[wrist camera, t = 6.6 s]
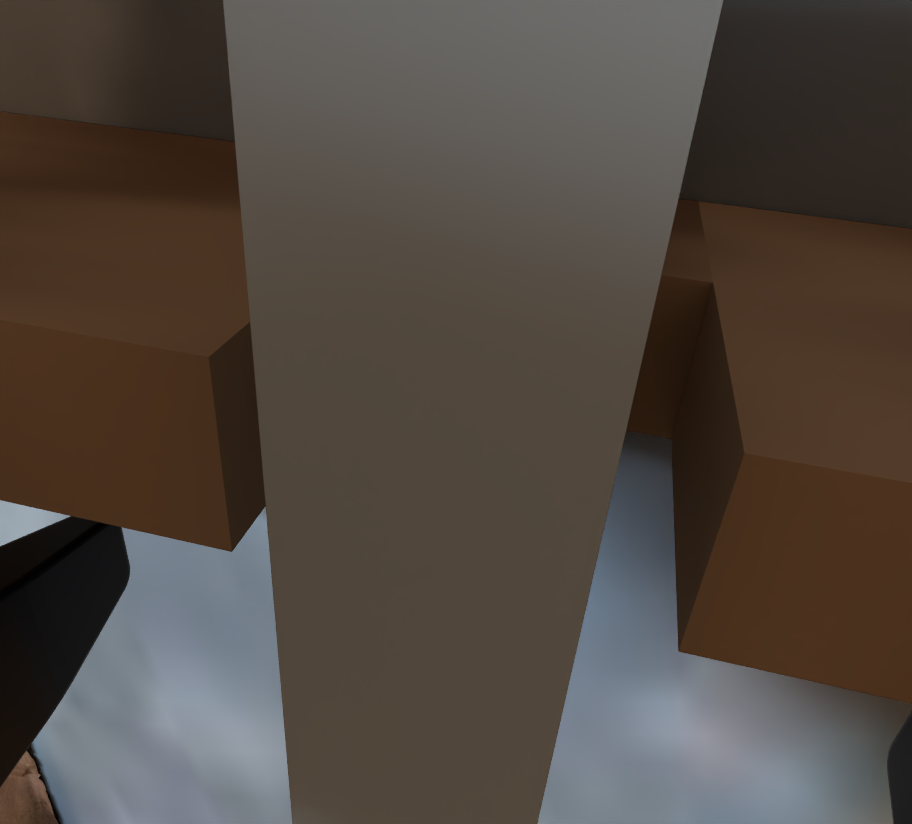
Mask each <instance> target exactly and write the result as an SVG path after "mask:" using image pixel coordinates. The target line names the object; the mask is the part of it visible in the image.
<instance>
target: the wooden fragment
mask: <svg viewBox="0 0 912 824" xmlns="http://www.w3.org/2000/svg"><path fill="white" fill-rule="evenodd" d="M39 777H40V774H38V771H37V767H36V764H35V762H34V760H33V759H32V758H31V756H30V755H29V753H28V752H27V751H26V752H25V753H24V755H23V756H22V758H21V759H20V761H19V762H18V763H17V765H16V766H15V768H14V769H13V771H12V772H11V773H10V775H9V776H8V778H7V779H6V781H5V782H4V783H3V785H2V786H1V788H0V824H59V823H58V822H57V820H56V818H55V816H54V813H53V810H52V806H51V803H50V801H49V799H48V797H47V796H48V795H47V793H46V792H45V791H46V788H45V786H44V784H43V782H42V781H41V780H40V779H38V778H39Z"/></svg>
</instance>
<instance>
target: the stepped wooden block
mask: <svg viewBox="0 0 912 824" xmlns="http://www.w3.org/2000/svg"><path fill="white" fill-rule="evenodd" d="M626 431H631V432H637V433H642V434H648V435H653V436H659V437H665V438H670V439H672V469H673V499H674V529H675V559H676V590H677V620H678V650H679V652H683V653H688V654H692V655H697V656H701V657H706V658H710V659H714V660H719V661H723V662H728V663H732V664H737V665H741V666H746V667H750V668H755V669H759V670H764V671H768V672H773V673H777V674H782V675H786V676H791V677H795V678H800V679H804V680H809V681H813V682H817V683H822V684H826V685H831V686H835V687H840V688H844V689H849V690H853V691H858V692H862V693H867V694H871V695H876V696H880V697H885V698H889V699H894V700H898V701H903V702H907V703H912V229H910V228H903V227H895V226H887V225H879V224H871V223H864V222H856V221H848V220H840V219H832V218H825V217H817V216H809V215H801V214H793V213H786V212H778V211H770V210H762V209H754V208H747V207H739V206H731V205H723V204H715V203H708V202H700V201H692V200H684V199H678V203H677V207H676V212H675V216H674V221H673V225H672V229H671V234H670V238H669V243H668V247H667V252H666V256H665V260H664V265H663V269H662V274H661V278H660V283H659V287H658V291H657V296H656V300H655V305H654V309H653V314H652V318H651V322H650V327H649V331H648V336H647V340H646V345H645V349H644V353H643V358H642V362H641V367H640V371H639V375H638V380H637V384H636V389H635V393H634V398H633V402H632V406H631V411H630V415H629V420H628V424H627V429H626ZM0 500H2V501H7V502H11V503H16V504H20V505H25V506H29V507H34V508H38V509H43V510H47V511H52V512H56V513H61V514H65V515H70V516H74V517H79V518H83V519H87V520H92V521H96V522H101V523H105V524H110V525H114V526H119V527H123V528H128V529H132V530H137V531H141V532H146V533H150V534H155V535H159V536H164V537H168V538H173V539H177V540H182V541H186V542H190V543H195V544H199V545H204V546H208V547H213V548H217V549H222V550H226V551H231V552H232V551H233V550H234V548H235V547H236V546H237V544H238V543H239V541H240V540H241V539H242V537H243V536H244V535H245V533H246V532H247V530H248V529H249V528H250V526H251V525H252V524H253V522H254V521H255V520H256V518H257V517H258V515H259V514H260V513H261V511H262V510H263V509H264V507H265V506H266V503H265V491H264V479H263V467H262V456H261V444H260V432H259V420H258V408H257V396H256V384H255V373H254V361H253V349H252V337H251V325H250V313H249V301H248V290H247V278H246V266H245V254H244V242H243V230H242V219H241V207H240V195H239V183H238V171H237V159H236V147H235V142H232V141H224V140H216V139H209V138H201V137H193V136H185V135H177V134H170V133H162V132H154V131H146V130H138V129H131V128H123V127H115V126H107V125H100V124H92V123H84V122H76V121H68V120H61V119H53V118H45V117H37V116H29V115H22V114H14V113H6V112H0Z"/></svg>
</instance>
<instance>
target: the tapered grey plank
mask: <svg viewBox="0 0 912 824" xmlns="http://www.w3.org/2000/svg"><path fill="white" fill-rule="evenodd" d="M722 4H723V0H223V5H224V17H225V29H226V41H227V53H228V64H229V76H230V88H231V100H232V112H233V124H234V136H235V147H236V159H237V171H238V183H239V195H240V207H241V219H242V230H243V242H244V254H245V266H246V278H247V290H248V301H249V313H250V325H251V337H252V349H253V361H254V373H255V384H256V396H257V408H258V420H259V432H260V444H261V456H262V467H263V479H264V491H265V503H266V515H267V527H268V538H269V550H270V562H271V574H272V586H273V598H274V610H275V621H276V633H277V645H278V657H279V669H280V681H281V692H282V704H283V716H284V728H285V740H286V752H287V764H288V775H289V787H290V799H291V811H292V823H293V824H537V822H538V818H539V813H540V809H541V805H542V800H543V796H544V791H545V787H546V782H547V778H548V774H549V769H550V765H551V760H552V756H553V752H554V747H555V743H556V738H557V734H558V729H559V725H560V721H561V716H562V712H563V707H564V703H565V698H566V694H567V690H568V685H569V681H570V676H571V672H572V667H573V663H574V659H575V654H576V650H577V645H578V641H579V636H580V632H581V628H582V623H583V619H584V614H585V610H586V606H587V601H588V597H589V592H590V588H591V583H592V579H593V575H594V570H595V566H596V561H597V557H598V552H599V548H600V544H601V539H602V535H603V530H604V526H605V521H606V517H607V513H608V508H609V504H610V499H611V495H612V490H613V486H614V482H615V477H616V473H617V468H618V464H619V460H620V455H621V451H622V446H623V442H624V437H625V433H626V429H627V424H628V420H629V415H630V411H631V406H632V402H633V398H634V393H635V389H636V384H637V380H638V375H639V371H640V367H641V362H642V358H643V353H644V349H645V345H646V340H647V336H648V331H649V327H650V322H651V318H652V314H653V309H654V305H655V300H656V296H657V291H658V287H659V283H660V278H661V274H662V269H663V265H664V260H665V256H666V252H667V247H668V243H669V238H670V234H671V229H672V225H673V221H674V216H675V212H676V207H677V203H678V198H679V194H680V190H681V185H682V181H683V176H684V172H685V168H686V163H687V159H688V154H689V150H690V145H691V141H692V137H693V132H694V128H695V123H696V119H697V114H698V110H699V106H700V101H701V97H702V92H703V88H704V83H705V79H706V75H707V70H708V66H709V61H710V57H711V53H712V48H713V44H714V39H715V35H716V30H717V26H718V22H719V17H720V13H721V8H722Z"/></svg>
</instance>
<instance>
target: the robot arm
mask: <svg viewBox="0 0 912 824" xmlns="http://www.w3.org/2000/svg"><path fill="white" fill-rule="evenodd" d="M129 576H130V564H129V560H128V555H127V550H126V546H125V541H124V536H123V532H122V527H119V526H114V525H110V524H105V523H101V522H96V521H92V520H87V519H83V518H79V517H74V516H70V517H68V518H66V519H63V520H61V521H59V522H56V523H54V524H52V525H49V526H47V527H45V528H42V529H40V530H37V531H35V532H33V533H30V534H28V535H26V536H23V537H21V538H19V539H16V540H14V541H12V542H9V543H7V544H5V545H2V546H0V788H1V786H2V785H3V783H4V782H5V781H6V779H7V778H8V776H9V775H10V773H11V772H12V771H13V769H14V768H15V766H16V765H17V763H18V762H19V761H20V759H21V758H22V756H23V755H24V753H25V752H26V751H27V749H28V748H29V746H30V745H31V743H32V742H33V741H34V739H35V738H36V736H37V735H38V734H39V732H40V731H41V729H42V728H43V726H44V725H45V724H46V722H47V721H48V719H49V718H50V716H51V715H52V713H53V712H54V710H55V709H56V707H57V706H58V704H59V703H60V701H61V700H62V698H63V697H64V695H65V693H66V692H67V690H68V688H69V687H70V685H71V683H72V682H73V680H74V678H75V677H76V675H77V673H78V671H79V670H80V668H81V666H82V664H83V662H84V661H85V659H86V657H87V655H88V654H89V652H90V650H91V648H92V647H93V645H94V643H95V641H96V639H97V638H98V636H99V634H100V632H101V631H102V629H103V627H104V625H105V624H106V622H107V620H108V618H109V616H110V615H111V613H112V611H113V609H114V608H115V606H116V604H117V602H118V601H119V599H120V597H121V595H122V593H123V592H124V590H125V588H126V586H127V583H128V580H129ZM887 770H888V780H889V788H890V797H891V806H892V815H893V824H912V712H911V714H910V715H909V717H908V718H907V720H906V722H905V723H904V725H903V727H902V728H901V730H900V731H899V733H898V735H897V736H896V738H895V740H894V741H893V743H892V745H891V747H890V750H889V753H888V760H887Z"/></svg>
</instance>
